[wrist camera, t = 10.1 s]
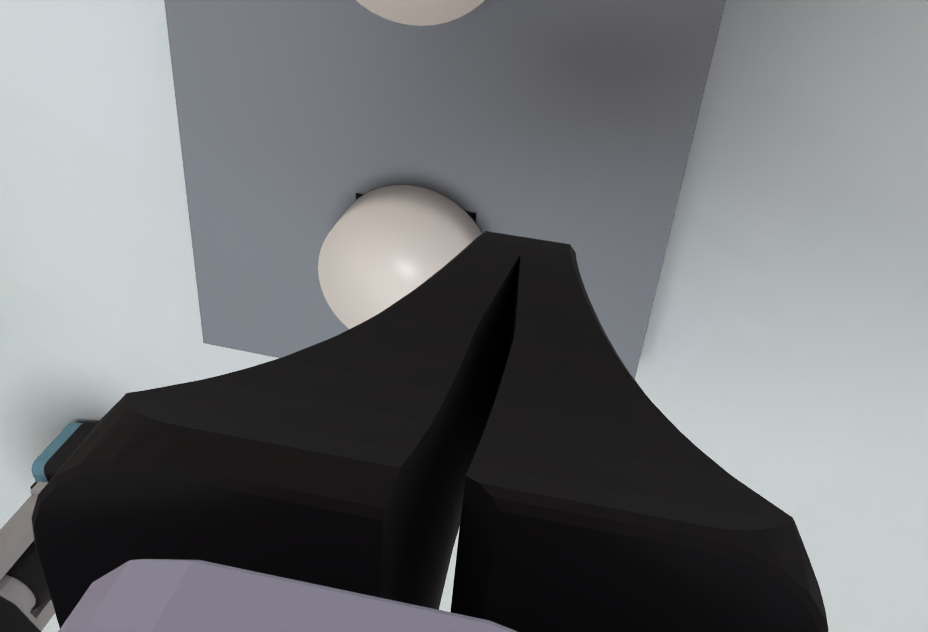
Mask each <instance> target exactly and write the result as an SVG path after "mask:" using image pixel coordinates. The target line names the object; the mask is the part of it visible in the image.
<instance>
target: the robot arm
mask: <svg viewBox="0 0 928 632" xmlns="http://www.w3.org/2000/svg"><path fill="white" fill-rule="evenodd" d="M31 518H32V526H33V534H34V542H35V546H36V550H37V553H38V556H39V560H40V563H41V566H42V570H43V573H44V576H45V580H46V583H47V586H48V590H49V593H50V596H51V600H52V603H53V607H54V610H55V613H56V617H57V620H58V623H59V627H60V630H59V631H58V632H828V624H827V618H826V612H825V607H824V603H823V600H822V596H821V592H820V588H819V585H818V582H817V579H816V577H815V574H814V571H813V568H812V566H811V563H810V560H809V557H808V555H807V552H806V550H805V547H804V544H803V542H802V539H801V536H800V534H799V531H798V529H797V526H796V524H795V521H794V520H793V518H792V517H791V516H789V515H788V514H786V513H785V512H784V511H782V510H781V509H779V508H778V507H776V506H775V505H773V504H772V503H770V502H769V501H767V500H766V499H765V498H763V497H762V496H760V495H759V494H757V493H756V492H754V491H753V490H751V489H750V488H748V487H747V486H746V485H744V484H743V483H741V482H740V481H738V480H737V479H735V478H734V477H733V476H731V475H730V474H729V473H727V472H726V471H725V470H724V469H723V468H721V467H720V466H719V465H718V464H717V463H715V462H714V461H713V460H712V459H710V458H709V457H708V456H707V455H706V454H704V453H703V452H702V451H701V450H700V449H698V448H697V447H696V446H695V445H694V444H693V443H692V442H691V441H690V440H689V439H688V438H686V437H685V436H684V435H683V434H682V433H681V432H680V431H679V430H678V429H677V428H676V427H675V426H674V425H673V424H672V423H671V422H670V421H669V420H668V419H667V418H666V417H665V415H664V414H663V413H662V412H661V411H660V410H659V409H658V408H657V407H656V406H655V405H654V404H653V403H652V402H651V400H650V399H649V398H648V397H647V396H646V395H645V393H644V392H643V390H642V389H641V388H640V386H639V385H638V384H637V382H636V381H635V380H634V378H633V377H632V376H631V374H630V373H629V371H628V370H627V368H626V367H625V365H624V364H623V362H622V361H621V359H620V357H619V356H618V354H617V352H616V351H615V349H614V347H613V346H612V344H611V342H610V340H609V339H608V337H607V335H606V333H605V331H604V329H603V327H602V326H601V324H600V321H599V319H598V317H597V315H596V313H595V311H594V308H593V306H592V304H591V302H590V300H589V297H588V295H587V292H586V290H585V287H584V284H583V281H582V278H581V275H580V272H579V268H578V264H577V259H576V252H575V251H574V249H573V248H572V247H571V245H570V244H565V243H559V242H553V241H546V240H540V239H534V238H527V237H521V236H514V235H508V234H502V233H495V232H489V231H485V232H484V233H482V234H481V235H479V236H478V237H477V238H476V239H475V240H473V241H472V242H471V243H470V244H469V245H468V246H467V247H466V248H465V249H464V250H462V251H461V252H460V253H459V254H458V255H457V256H456V257H454V258H453V259H452V260H451V261H450V262H449V263H447V264H446V265H445V266H444V267H443V268H441V269H440V270H439V271H438V272H436V273H435V274H434V275H433V276H431V277H430V278H429V279H427V280H426V281H425V282H424V283H422V284H421V285H420V286H418V287H417V288H416V289H414V290H413V291H412V292H410V293H409V294H407V295H406V296H404V297H403V298H401V299H400V300H398V301H397V302H395V303H394V304H392V305H391V306H390V307H388V308H387V309H385V310H384V311H382V312H380V313H379V314H377V315H375V316H374V317H372V318H370V319H368V320H366V321H365V322H363V323H361V324H359V325H357V326H355V327H353V328H351V329H349V330H347V331H345V332H343V333H341V334H339V335H337V336H334V337H332V338H330V339H328V340H325V341H323V342H320V343H317V344H315V345H312V346H310V347H307V348H305V349H302V350H300V351H297V352H295V353H292V354H290V355H287V356H285V357H282V358H279V359H276V360H273V361H270V362H267V363H263V364H260V365H257V366H254V367H251V368H247V369H243V370H239V371H236V372H232V373H228V374H225V375H221V376H217V377H212V378H208V379H204V380H199V381H194V382H188V383H183V384H177V385H172V386H167V387H161V388H156V389H150V390H145V391H138V392H132V393H127V394H126V395H125V396H124V397H123V398H122V399H121V400H120V401H119V402H118V403H117V404H116V405H115V406H114V407H113V408H112V409H111V410H110V411H109V412H108V413H107V414H106V415H105V416H104V417H103V418H102V419H101V420H100V421H99V422H98V423H97V425H96V426H95V427H94V428H93V429H92V431H91V432H90V433H89V434H88V435H87V437H86V438H85V439H84V440H83V442H82V443H81V444H80V445H79V446H78V447H77V449H76V450H75V451H74V452H73V453H72V455H71V456H70V457H69V458H68V459H67V461H66V462H65V463H64V464H63V465H62V467H61V468H60V469H59V470H58V471H57V473H56V474H55V475H54V476H53V477H52V479H51V480H50V481H49V482H48V483H47V485H46V486H45V487H44V488H43V489H42V491H41V492H40V493H39V494H38V496H37V500H36V503H35V507H34V510H33V514H32V517H31ZM459 526H460V530H459V539H458V549H457V558H456V567H455V576H454V586H453V595H452V604H451V612H446V611H441V610H439V606H440V601H441V597H442V593H443V588H444V584H445V580H446V575H447V571H448V567H449V563H450V558H451V554H452V550H453V546H454V543H455V540H456V536H457V533H458V529H459Z"/></svg>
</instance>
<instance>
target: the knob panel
mask: <svg viewBox="0 0 928 632" xmlns="http://www.w3.org/2000/svg"><path fill="white" fill-rule="evenodd" d="M164 1H165V9H166V18H167V27H168V36H169V44H170V53H171V62H172V71H173V79H174V88H175V97H176V106H177V114H178V123H179V132H180V141H181V149H182V158H183V167H184V176H185V185H186V193H187V202H188V211H189V220H190V228H191V237H192V246H193V255H194V263H195V272H196V281H197V290H198V298H199V307H200V316H201V325H202V333H203V342H204V343H206V344H211V345H216V346H222V347H227V348H232V349H237V350H242V351H247V352H252V353H257V354H262V355H267V356H272V357H278V358H282V357H285V356H287V355H290V354H292V353H295V352H297V351H300V350H302V349H305V348H307V347H310V346H312V345H315V344H317V343H320V342H323V341H325V340H328V339H330V338H332V337H334V336H337V335H339V334H341V333H343V332H345V331H347V330H349V329H348V328H347V327H346V326H345V325H344V324H343V323H342V322H341V321H340V320H339V319H338V317H337V316H336V315H335V314H334V312H333V311H332V309H331V308H330V306H329V305H328V303H327V301H326V299H325V297H324V294H323V292H322V289H321V286H320V281H319V275H318V259H319V255H320V250H321V247H322V245H323V242H324V240H325V239H326V237H327V235H328V234H329V232H330V231H331V230H332V228H333V227H334V226H335V224H336V223H337V222H338V220H339V219H340V218H341V216H342V215H343V214H344V213H345V211H346V210H347V209H348V208H349V206H350V205H351V204H352V203H353V202H354V201H356V200H357V199H358V198H359V197H361V196H363V195H364V194H366V193H368V192H370V191H372V190H374V189H378V188H381V187H385V186H391V185H411V186H418V187H422V188H426V189H429V190H432V191H435V192H437V193H439V194H441V195H443V196H445V197H447V198H449V199H450V200H452V201H453V202H455V203H456V204H457V205H459V206H460V207H461V208H462V209H463V210H464V211H465V212H466V213H467V214H468V215H469V216H470V217H471V218H472V219H473V221H474V222H475V223H476V225H477V226H478V227H479V229H480V231H481V233H484V232H485V231H489V232H495V233H502V234H508V235H514V236H521V237H527V238H534V239H540V240H546V241H553V242H559V243H565V244H570V245H571V247H572V248H573V249H574V251H575V252H576V259H577V264H578V268H579V272H580V275H581V278H582V281H583V284H584V287H585V290H586V292H587V295H588V297H589V300H590V302H591V304H592V306H593V308H594V311H595V313H596V315H597V317H598V319H599V321H600V324H601V326H602V327H603V329H604V331H605V333H606V335H607V337H608V339H609V340H610V342H611V344H612V346H613V347H614V349H615V351H616V352H617V354H618V356H619V357H620V359H621V361H622V362H623V364H624V365H625V367H626V368H627V370H628V371H629V373H630V374H631V376H632V377H633V378H634V380H635V375H636V371H637V367H638V363H639V359H640V355H641V350H642V346H643V342H644V338H645V334H646V330H647V326H648V321H649V317H650V313H651V309H652V305H653V301H654V296H655V292H656V288H657V284H658V280H659V276H660V271H661V267H662V263H663V259H664V255H665V251H666V246H667V242H668V238H669V234H670V230H671V226H672V222H673V217H674V213H675V209H676V205H677V201H678V197H679V192H680V188H681V184H682V180H683V176H684V172H685V167H686V163H687V159H688V155H689V151H690V147H691V142H692V138H693V134H694V130H695V126H696V122H697V118H698V113H699V109H700V105H701V101H702V97H703V93H704V88H705V84H706V80H707V76H708V72H709V68H710V63H711V59H712V55H713V51H714V47H715V43H716V38H717V34H718V30H719V26H720V22H721V18H722V14H723V9H724V5H725V1H726V0H485V1H484V2H483V3H482V4H480V5H479V6H478V7H476V8H475V9H474V10H472V11H471V12H469V13H467V14H465V15H463V16H462V17H460V18H457V19H455V20H452V21H449V22H446V23H442V24H437V25H428V26H415V25H406V24H401V23H397V22H394V21H391V20H388V19H385V18H383V17H381V16H379V15H377V14H375V13H373V12H371V11H369V10H368V9H367V8H365V7H364V6H362V5H361V4H359V3H358V2H357V1H356V0H164Z"/></svg>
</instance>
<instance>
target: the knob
mask: <svg viewBox="0 0 928 632" xmlns="http://www.w3.org/2000/svg"><path fill="white" fill-rule="evenodd" d="M481 234H482V233H481V231H480V229H479V227H478V226H477V225H476V223H475V222H474V221H473V219H472V218H471V217H470V216H469V215H468V214H467V213H466V212H465V211H464V210H463V209H462V208H461V207H460V206H459V205H457V204H456V203H455V202H453V201H452V200H450V199H449V198H447V197H445V196H443V195H441V194H439V193H437V192H435V191H432V190H429V189H426V188H422V187H418V186H411V185H391V186H385V187H381V188H378V189H374V190H372V191H370V192H368V193H366V194H364V195H363V196H361V197H359V198H358V199H357V200H356V201H354V202H353V203H352V204H351V205H350V206H349V208H348V209H347V210H346V211H345V213H344V214H343V215H342V216H341V218H340V219H339V220H338V222H337V223H336V224H335V226H334V227H333V228H332V230H331V231H330V232H329V234H328V235H327V237H326V239H325V240H324V242H323V245H322V247H321V250H320V255H319V259H318V275H319V281H320V286H321V289H322V292H323V294H324V297H325V299H326V301H327V303H328V305H329V306H330V308H331V309H332V311H333V312H334V314H335V315H336V316H337V317H338V319H339V320H340V321H341V322H342V323H343V324H344V325H345V326H346V327H347V328H348V329H351V328H353V327H355V326H357V325H359V324H361V323H363V322H365V321H366V320H368V319H370V318H372V317H374V316H375V315H377V314H379V313H380V312H382V311H384V310H385V309H387V308H388V307H390V306H391V305H392V304H394V303H395V302H397V301H398V300H400V299H401V298H403V297H404V296H406V295H407V294H409V293H410V292H412V291H413V290H414V289H416V288H417V287H418V286H420V285H421V284H422V283H424V282H425V281H426V280H427V279H429V278H430V277H431V276H433V275H434V274H435V273H436V272H438V271H439V270H440V269H441V268H443V267H444V266H445V265H446V264H447V263H449V262H450V261H451V260H452V259H453V258H454V257H456V256H457V255H458V254H459V253H460V252H461V251H462V250H464V249H465V248H466V247H467V246H468V245H469V244H470V243H471V242H472V241H473V240H475V239H476V238H477V237H478V236H479V235H481Z"/></svg>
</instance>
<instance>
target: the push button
mask: <svg viewBox="0 0 928 632" xmlns="http://www.w3.org/2000/svg"><path fill="white" fill-rule="evenodd" d="M96 425H97V424H92V423H70V424H68V425H67V426H66V427H65V428H64V429H63V431H62V432H61V433H60V434H59V435H58V437H57V438H56V439H55V440H54V441H53V442H52V443H51V444H50V445H49V446H48V447H47V448H46V449H45V450H44V451H43V453H42V454H41V455H40V456H39V457H38V458H37V459H36V460H35V461H34V463H33V465H32V474H33V476H34V478H35V480H36V482H35V483H34V484H33V485H32V486H31V487H30V488H31V494H32V495H31V496H30V498H29V499H28V500H27V501H26V502H25V503H24V504H23V505H22V506H21V508H20V509H19V510H18V511H17V512H16V513H15V514H14V515H13V516H12V518H11V519H10V520H9V521H8V522H7V523H6V524H5V525H4V526H3V528H2V529H1V530H0V632H41V631H42V630H43V628H44V627H45V626H46V624H47V623H48V622H49V620H50V619H51V618H52V616H53V615H54V613H55V610H54V607H53V603H52V600H51V596H50V593H49V590H48V586H47V583H46V580H45V576H44V573H43V570H42V566H41V563H40V560H39V556H38V553H37V550H36V546H35V542H34V534H33V526H32V518H31V517H32V514H33V510H34V507H35V503H36V500H37V496H38V494H39V493H40V492H41V491H42V489H43V488H44V487H45V486H46V485H47V483H48V482H49V481H50V480H51V479H52V477H53V476H54V475H55V474H56V473H57V471H58V470H59V469H60V468H61V467H62V465H63V464H64V463H65V462H66V461H67V459H68V458H69V457H70V456H71V455H72V453H73V452H74V451H75V450H76V449H77V447H78V446H79V445H80V444H81V443H82V442H83V440H84V439H85V438H86V437H87V435H88V434H89V433H90V432H91V431H92V429H93V428H94V427H95V426H96Z"/></svg>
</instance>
